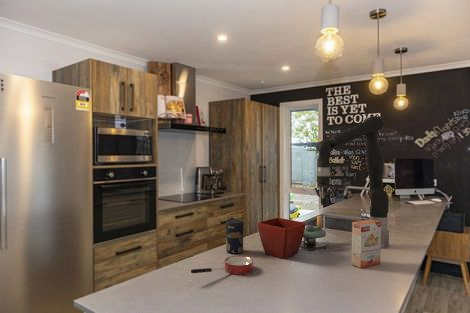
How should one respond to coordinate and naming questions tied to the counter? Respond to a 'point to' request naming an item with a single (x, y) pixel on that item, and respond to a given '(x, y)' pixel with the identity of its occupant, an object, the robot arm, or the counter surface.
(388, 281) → the counter surface
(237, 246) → the canister
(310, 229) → the handwheel
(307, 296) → the counter surface
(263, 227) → the plant pot
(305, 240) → the pedestal
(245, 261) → the frying pan
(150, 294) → the counter surface
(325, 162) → the robot arm
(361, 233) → the cracker box
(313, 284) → the counter surface
